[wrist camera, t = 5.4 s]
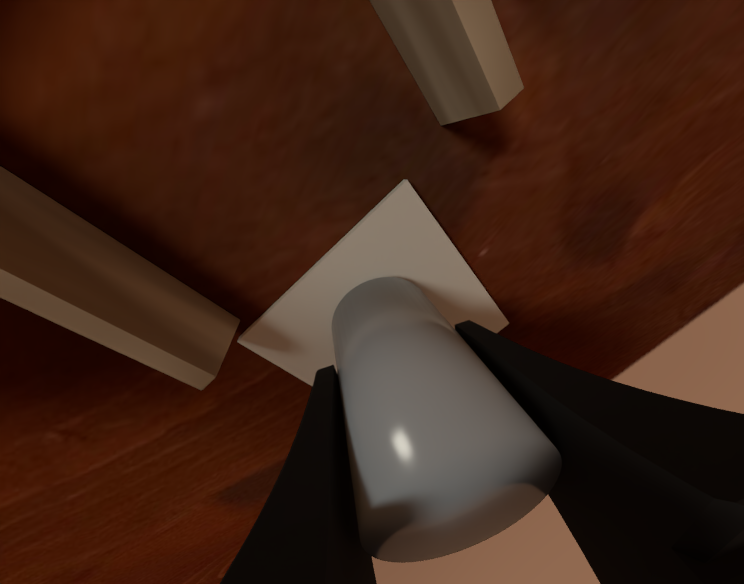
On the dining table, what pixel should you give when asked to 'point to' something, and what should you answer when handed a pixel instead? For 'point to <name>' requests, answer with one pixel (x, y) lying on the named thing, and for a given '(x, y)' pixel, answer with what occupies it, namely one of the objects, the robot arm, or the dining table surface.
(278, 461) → the dining table surface
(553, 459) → the grey domed cylinder
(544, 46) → the dining table surface
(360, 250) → the coaster
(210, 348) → the frame
